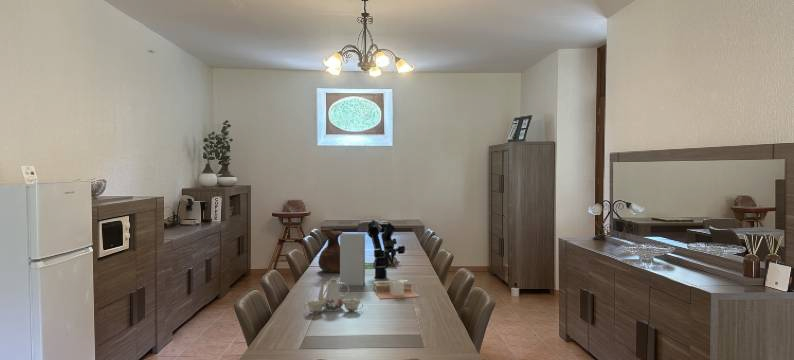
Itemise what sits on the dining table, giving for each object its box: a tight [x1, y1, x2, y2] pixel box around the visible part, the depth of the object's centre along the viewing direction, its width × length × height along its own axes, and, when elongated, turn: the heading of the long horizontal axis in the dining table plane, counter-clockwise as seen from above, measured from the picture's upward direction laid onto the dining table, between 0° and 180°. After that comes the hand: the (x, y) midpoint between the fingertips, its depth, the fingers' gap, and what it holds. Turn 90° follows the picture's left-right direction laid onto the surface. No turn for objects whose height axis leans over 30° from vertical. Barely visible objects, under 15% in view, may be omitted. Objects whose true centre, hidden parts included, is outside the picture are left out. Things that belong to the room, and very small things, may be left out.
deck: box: [372, 279, 412, 292], centre depth 291 cm, size 11×20×4 cm, turn 104°
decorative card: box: [365, 254, 403, 270], centre depth 359 cm, size 33×8×20 cm
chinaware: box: [304, 276, 364, 315], centre depth 248 cm, size 28×17×17 cm, turn 106°
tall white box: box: [339, 233, 366, 286], centre depth 304 cm, size 14×6×30 cm, turn 84°
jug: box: [317, 228, 344, 274], centre depth 340 cm, size 22×22×30 cm
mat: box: [375, 289, 420, 300], centre depth 278 cm, size 13×22×1 cm, turn 104°
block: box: [389, 278, 404, 296], centre depth 279 cm, size 7×6×8 cm
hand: (392, 263), depth 299 cm, fingers closed
